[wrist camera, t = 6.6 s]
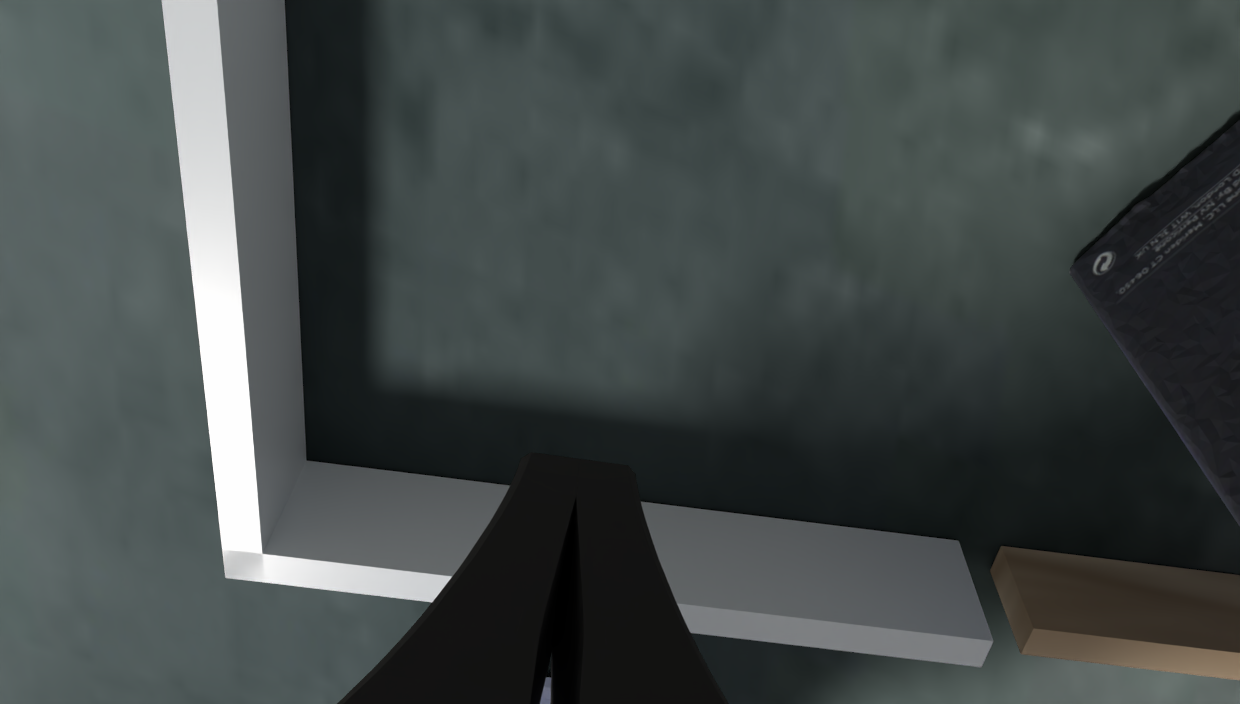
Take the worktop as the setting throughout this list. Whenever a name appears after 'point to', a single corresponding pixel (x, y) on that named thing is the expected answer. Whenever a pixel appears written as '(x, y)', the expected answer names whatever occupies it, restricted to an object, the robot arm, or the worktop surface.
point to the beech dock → (1121, 612)
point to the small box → (1182, 304)
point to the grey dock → (445, 507)
